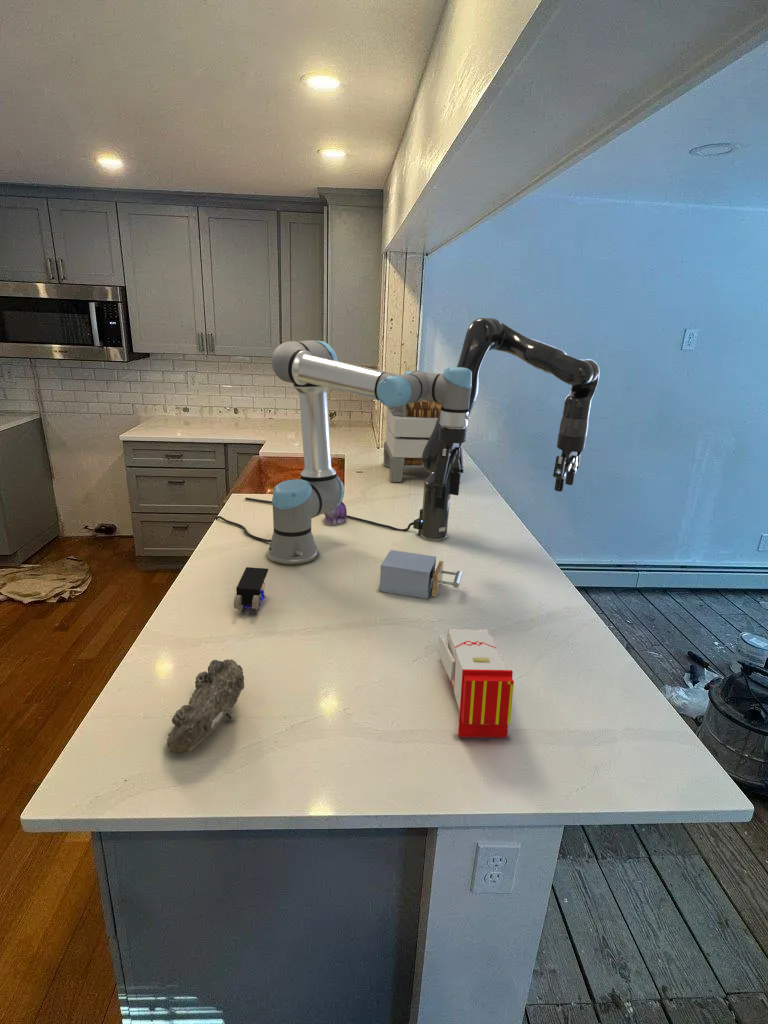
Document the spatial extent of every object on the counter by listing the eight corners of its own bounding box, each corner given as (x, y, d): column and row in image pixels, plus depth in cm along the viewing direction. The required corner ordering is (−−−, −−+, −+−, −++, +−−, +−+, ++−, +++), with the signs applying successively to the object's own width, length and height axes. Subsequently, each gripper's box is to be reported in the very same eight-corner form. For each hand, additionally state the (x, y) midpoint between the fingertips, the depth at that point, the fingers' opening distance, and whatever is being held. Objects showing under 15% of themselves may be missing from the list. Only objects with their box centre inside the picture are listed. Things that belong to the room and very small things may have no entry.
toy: (488, 613, 130) (523, 677, 101) (484, 667, 133) (517, 744, 104) (435, 612, 130) (455, 676, 101) (432, 666, 133) (451, 743, 103)
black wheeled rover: (260, 622, 143) (270, 588, 156) (258, 597, 140) (268, 565, 153) (233, 621, 143) (245, 588, 156) (231, 597, 139) (243, 564, 153)
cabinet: (434, 581, 166) (436, 556, 163) (427, 598, 156) (429, 572, 153) (389, 574, 169) (390, 549, 166) (379, 591, 159) (380, 565, 156)
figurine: (328, 527, 202) (328, 487, 197) (317, 518, 211) (318, 479, 206) (352, 524, 206) (353, 484, 201) (341, 515, 215) (342, 477, 210)
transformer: (382, 463, 289) (386, 382, 275) (445, 464, 293) (451, 384, 279) (390, 482, 257) (394, 392, 243) (460, 483, 261) (468, 394, 247)
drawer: (461, 583, 163) (463, 564, 161) (457, 599, 154) (459, 579, 152) (400, 574, 168) (401, 555, 165) (392, 589, 158) (393, 569, 156)
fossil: (192, 660, 117) (244, 628, 112) (224, 691, 120) (276, 661, 115) (142, 746, 98) (202, 712, 93) (182, 779, 101) (242, 748, 96)
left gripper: (453, 436, 141) (446, 516, 148) (478, 420, 162) (471, 491, 170) (425, 433, 143) (419, 511, 150) (453, 417, 165) (446, 487, 172)
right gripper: (568, 427, 167) (560, 480, 172) (550, 434, 156) (541, 490, 161) (594, 431, 163) (584, 485, 168) (577, 438, 152) (567, 496, 157)
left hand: (446, 501), depth 160 cm, fingers open, 13 cm apart
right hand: (563, 487), depth 165 cm, fingers open, 8 cm apart
